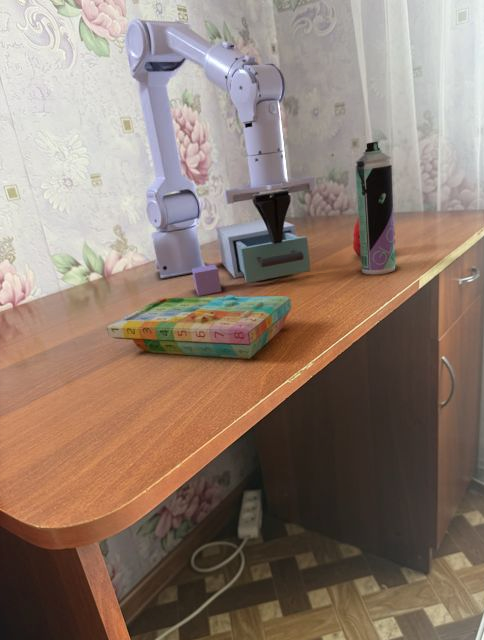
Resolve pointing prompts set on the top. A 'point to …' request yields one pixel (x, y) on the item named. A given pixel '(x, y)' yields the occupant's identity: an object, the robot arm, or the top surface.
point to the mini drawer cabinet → (241, 232)
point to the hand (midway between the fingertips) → (276, 242)
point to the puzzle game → (205, 325)
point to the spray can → (375, 211)
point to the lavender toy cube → (206, 280)
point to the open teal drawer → (271, 256)
